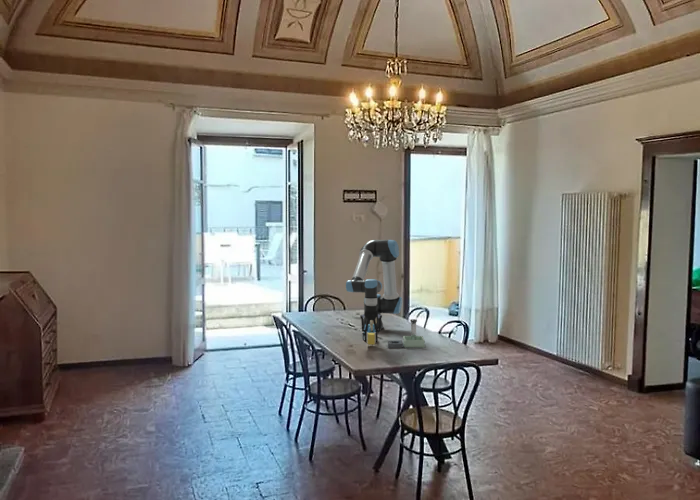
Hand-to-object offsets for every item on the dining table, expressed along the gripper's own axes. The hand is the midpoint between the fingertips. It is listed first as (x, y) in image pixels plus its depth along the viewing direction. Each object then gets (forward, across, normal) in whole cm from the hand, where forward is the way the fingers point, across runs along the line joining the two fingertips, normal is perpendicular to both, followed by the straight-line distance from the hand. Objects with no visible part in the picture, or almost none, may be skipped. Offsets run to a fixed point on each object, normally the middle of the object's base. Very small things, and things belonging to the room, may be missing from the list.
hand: (371, 342), depth 362 cm
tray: (+2, +26, +2) cm, 26 cm away
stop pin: (+1, +26, +2) cm, 26 cm away
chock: (0, 0, 0) cm, 0 cm away
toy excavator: (+2, 0, +15) cm, 15 cm away
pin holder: (+2, +14, 0) cm, 15 cm away
